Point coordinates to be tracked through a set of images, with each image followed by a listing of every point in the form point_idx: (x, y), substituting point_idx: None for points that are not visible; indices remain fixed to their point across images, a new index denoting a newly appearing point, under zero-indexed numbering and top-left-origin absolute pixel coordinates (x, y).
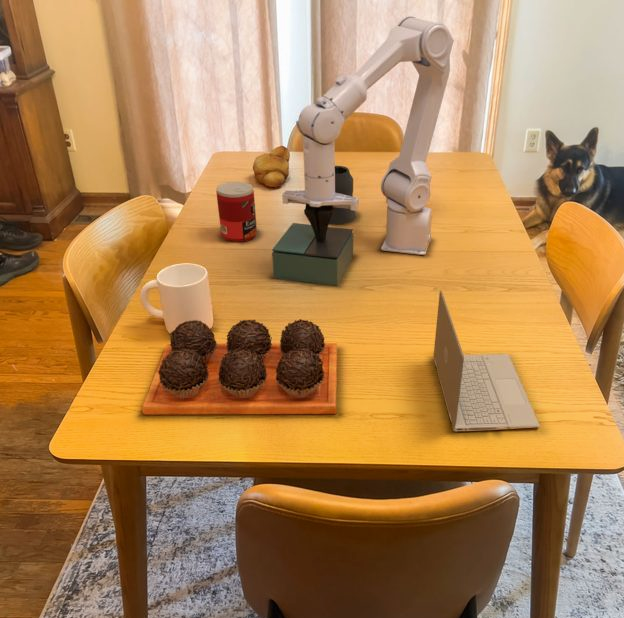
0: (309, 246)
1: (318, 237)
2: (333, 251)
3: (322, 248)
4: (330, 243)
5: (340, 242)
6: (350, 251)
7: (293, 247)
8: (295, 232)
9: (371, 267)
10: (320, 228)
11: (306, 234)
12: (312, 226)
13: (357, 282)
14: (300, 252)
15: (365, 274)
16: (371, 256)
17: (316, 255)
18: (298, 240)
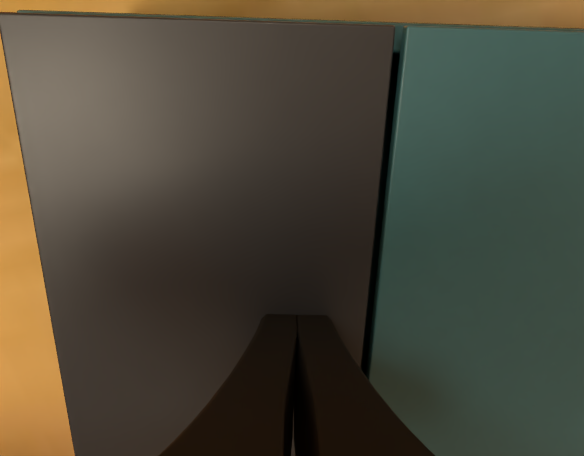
0: (376, 209)
1: (304, 334)
2: (87, 139)
3: (227, 186)
4: (184, 308)
5: (98, 342)
6: None
7: (546, 137)
8: (557, 438)
9: (8, 305)
10: (270, 402)
11: (451, 424)
12: (388, 416)
13: (9, 101)
14: (448, 28)
15: (6, 217)
16: (60, 417)
17: (250, 21)
18: (510, 301)
